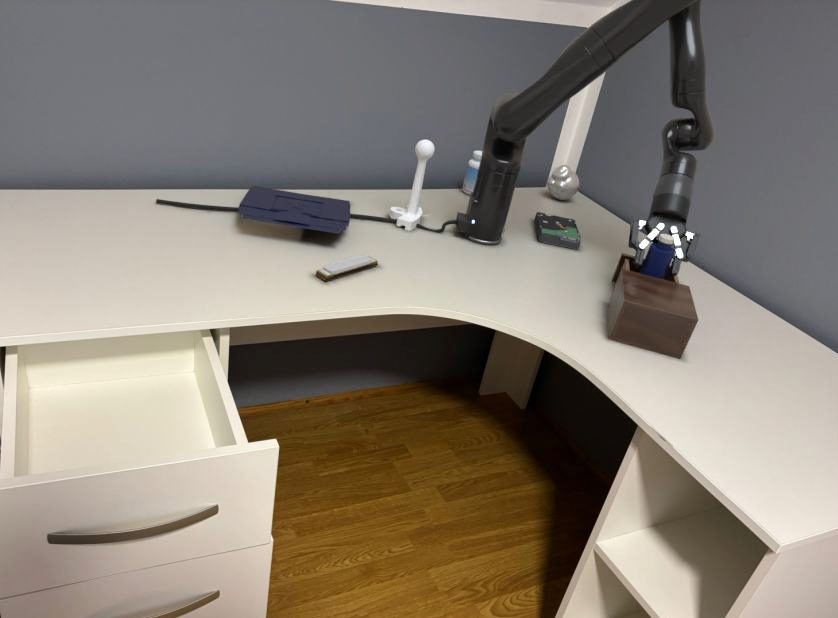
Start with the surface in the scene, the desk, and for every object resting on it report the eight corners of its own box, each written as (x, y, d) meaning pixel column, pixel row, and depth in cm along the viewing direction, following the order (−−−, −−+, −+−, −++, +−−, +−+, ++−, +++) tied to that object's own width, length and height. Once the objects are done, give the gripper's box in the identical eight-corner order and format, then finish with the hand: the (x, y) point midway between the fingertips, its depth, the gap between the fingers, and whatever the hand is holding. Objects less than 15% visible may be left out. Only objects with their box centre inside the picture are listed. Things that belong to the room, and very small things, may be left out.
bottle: (634, 300, 147) (659, 239, 140) (628, 289, 151) (652, 229, 144) (657, 304, 147) (683, 243, 140) (650, 293, 151) (675, 234, 144)
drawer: (611, 273, 160) (621, 246, 157) (665, 287, 158) (677, 260, 155) (612, 307, 145) (623, 278, 141) (673, 323, 143) (686, 294, 139)
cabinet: (608, 305, 148) (622, 268, 143) (673, 322, 146) (689, 286, 141) (608, 339, 135) (624, 300, 130) (680, 358, 133) (698, 320, 128)
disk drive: (532, 221, 184) (537, 242, 172) (535, 211, 183) (541, 231, 170) (571, 229, 184) (579, 250, 172) (574, 219, 183) (583, 239, 170)
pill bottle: (482, 198, 193) (492, 158, 187) (460, 193, 194) (470, 153, 188) (483, 191, 198) (493, 152, 192) (462, 187, 199) (472, 148, 193)
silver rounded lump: (538, 191, 207) (547, 158, 202) (567, 195, 208) (578, 162, 203) (547, 202, 199) (557, 168, 194) (578, 206, 201) (589, 172, 196)
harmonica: (326, 282, 135) (327, 273, 134) (315, 276, 137) (316, 266, 136) (377, 266, 145) (379, 258, 144) (367, 260, 146) (368, 252, 145)
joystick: (414, 232, 164) (431, 148, 154) (383, 224, 165) (398, 140, 155) (423, 216, 173) (440, 136, 163) (394, 209, 174) (409, 129, 164)
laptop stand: (230, 230, 145) (231, 212, 143) (251, 196, 172) (252, 181, 170) (346, 247, 147) (349, 231, 146) (349, 212, 174) (351, 197, 173)
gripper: (642, 183, 145) (624, 256, 142) (713, 200, 143) (697, 274, 140) (632, 200, 153) (615, 269, 149) (699, 216, 151) (683, 287, 147)
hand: (655, 271), depth 144 cm, fingers open, 6 cm apart
